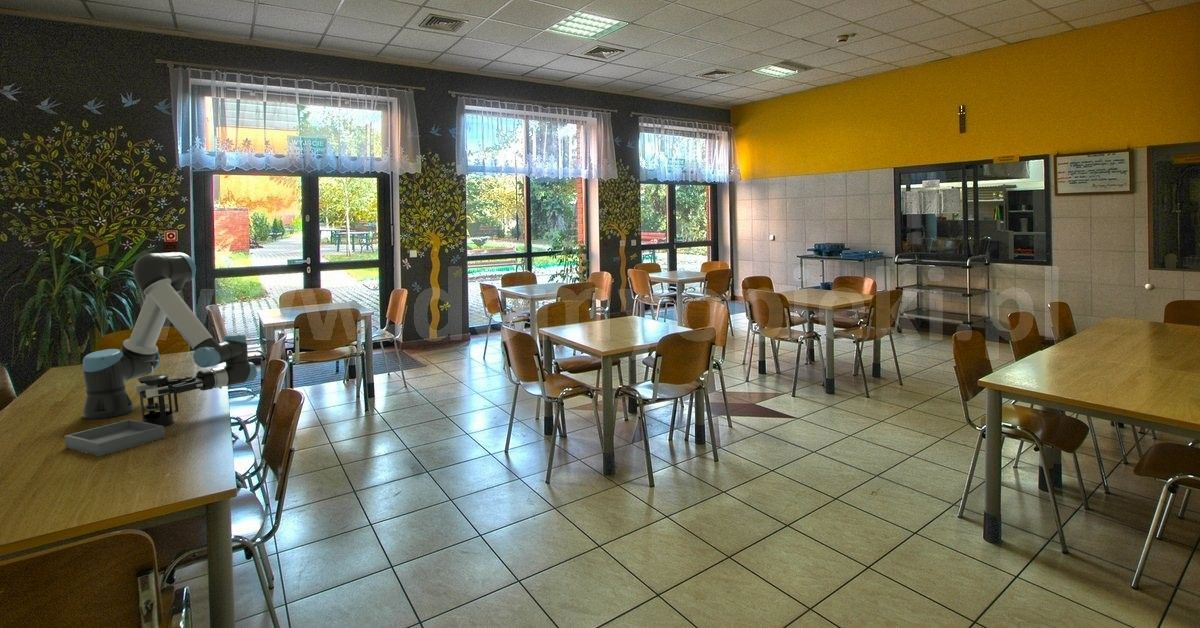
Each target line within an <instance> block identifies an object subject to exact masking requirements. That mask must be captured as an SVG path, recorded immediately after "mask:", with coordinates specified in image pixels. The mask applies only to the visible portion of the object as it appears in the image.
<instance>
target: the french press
mask: <svg viewBox="0 0 1200 628" xmlns="http://www.w3.org/2000/svg"><path fill="white" fill-rule="evenodd" d="M158 361H159V360H148V361H145V363H150V365H151V366H152V374H151V375H150V374H149V375H145V376H141V377H138V379H137V381H138V382H139V383H140V384H146V385H148V386H154V388H155V385H161V384H165V383H167V382H168V378H169V377H170V376H169V374H164V373H163V374H155V373H154V372H155V371H153V366H154V362H158ZM138 395H139V401H140V409H141V421H142V422H147V423H151V424H156V425H161V426H164V427H165V426H170V425H172V424H173V423H175V419H174V414H175V413H178V412H179V403H178V397H177V396H178V394H174V393H173V401H174V409H175V410H173V406H172V396H171V395H172V394H170V393H169V394H165V395H160V396H154V397H149V398H146V390H144V391H141V392H140V393H139V394H138ZM165 396H167V398H168V402H165ZM144 399H147V405H145V406H144ZM157 399H158V401H157ZM166 409H169V410H166ZM145 412H148V413H147V414H146V413H145Z"/></svg>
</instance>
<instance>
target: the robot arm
mask: <svg viewBox="0 0 1200 628" xmlns="http://www.w3.org/2000/svg"><path fill="white" fill-rule="evenodd" d="M196 267H197V266H196V264H195V262H194V260H193V258H192V257H190V256H189V255H188V254H186V253H184V252H181V251H179V252H178V251H177V252H176V251H170V252H156V253H155V252H150V253H146V254H143V255H142V256H140V257H139V258H138V259H137V260H136V261H135V263H134V264H133V267H132V275H133V279H134V281H135V284H136V285H137V287H138V288H139V290H140V291H141V292H142V293H143V294H144V296H145V299H144V300H143V304H142V305H141V309H140V311H139V314H138V317H137V320H136V322H135V325H134V327H133V329H132V332H131V334H130V337H129V338H127V339H124V340H123V343H122V345H121V347H120V349H118V348H107V349H102V350H97V351H93V352H90V353H87V354H86V355H85V356H84V357H83V358H82V371H83V377H84V385H85V392H86V393H85V394H86V397H85V401H84V405H83V408H82V418H84V419H89V420H91V419H92V420H97V419H107V418H113V417H118V416H121V415H126V414H129V413H131V412H133V411H134V408H135V407H134V403H133V400H131V397H130V396H129V394H128V392H127V389H126V382H125V381H129V380H133V379H137V378H141V377H145V376H148V375H150V374H151V373H152V366H151V365H150V363H145V361H148V360H159V361H158V362H154V366H153V372H155V371H156V370H157V369H158V368H159V366H160V362H161V356H160V352H159V347H158V346H157V342H158V339H159V336H160V334H161V332H162V329H163V326H164V324H165V321H166V319H168V320H169V322H170V323H171V324H172V325H173V326H174V327H175V329H176V330H177V331H178V332H179V334H180V335H181V336H182V338H184V340H185V341H186V342H187V344H188V345H189V346H190V347H191V348H192V349H193V351H194V352H193V354H192V358H193V362H194V364H195V365H197V366H198V367H200V368H203V370H198V371H197V373H196V376H194V377H193V375H192V376H191V375H190V376H187V375H186V376H181V377H175V378H169V379H168V382H167V383H165V384H161V385H155V388H154V386H148V385H146V384H145V383H143V384H140V385H135V386H134V387H135V388H134V389H135V394H138V395H139V393H140V392H141V391H144V390H146V398H145V399H148V398H149V397H154V396H160V395H165V394H169V393H170V394H171V395H172V394H173V395H174V394H177V395H178V394H181V393H186V392H190V391H194V390H200V391H201V392H202V391H210V390H213V389H218V388H219V389H222V388H223V387H228V386H233V385H239V384H240V385H241V384H245V383H248V382H249V383H250V382H252V381H255V379H256V378H257V375H258V371H257V367H256V365H255V363H253V362H251V361H250V362H249V353H248V342H247V337H246V334H244V333H241V332H240V333H239V332H237V333H235V332H234V333H228V334H224V336H223V341H222V342H217V341H216V339H215V338H214V337H213V335H212V334H211V333H210V332H209V331H208V329H207V328H206V327H205V325H204V324H203V323H202V322H201V321H200V319H199V318H198V317H197V316H196V314H195V313H194V311H192V309H191V308H190V307H189V305H188V304H187V303H186V302H185V300H183V298H182V297H181V296H180V294H179V293H180V292H182V291H183V288H184V286H185V284H186V283H187V282H191V280H193V279H194V278H195V276H196V273H197V268H196ZM223 363H225V366H220V367H215V366H217V365H221V364H223ZM210 367H212V368H210ZM204 368H205V369H204ZM206 368H210V369H206ZM165 396H166V395H165ZM154 398H155V397H154Z"/></svg>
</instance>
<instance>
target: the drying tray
mask: <svg viewBox="0 0 1200 628" xmlns="http://www.w3.org/2000/svg"><path fill="white" fill-rule="evenodd" d="M164 437H165V438H166V433H165V426H161V425H156V424H151V423H147V422H142V420H137V419H131V418H130V419H129V418H128V419H126V420H125V419H124V420H121V421H117V422H114V423H110V424H106V425H102V426H97V427H94V428H90V429H85V430H83V431H78V432H73V433H70V434H65V435H64V443H65V449H69V450H72V449H74V450H73V451H76V450H79V451H78V452H80V451H83V452H82V453H84V452H87V453H86V454H88V453H90V454H89V455H91V454H94V455H93V456H95V455H97V456H96V457H99V456H100V457H103V456H102V455H104V456H106V455H105V454H107V455H110V454H109V453H111V454H114V453H117V452H116V451H118V452H121V451H124V450H123V449H125V450H127V448H128V449H131V448H130V447H132V448H135V447H137V445H138V446H141V445H140V444H142V445H144V444H143V443H145V444H148V443H147V442H149V443H151V442H150V441H152V442H155V441H154V440H156V441H159V440H162V439H161V438H163V439H165V438H164ZM158 439H159V440H158ZM134 446H135V447H134ZM120 450H121V451H120ZM113 452H114V453H113Z"/></svg>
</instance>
